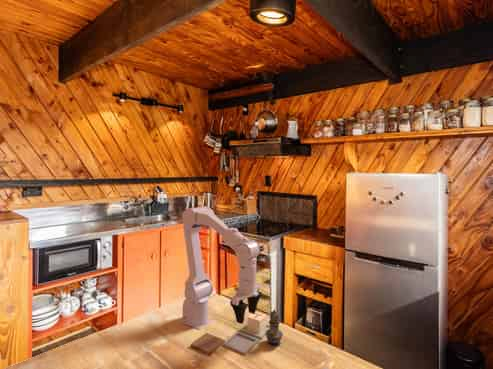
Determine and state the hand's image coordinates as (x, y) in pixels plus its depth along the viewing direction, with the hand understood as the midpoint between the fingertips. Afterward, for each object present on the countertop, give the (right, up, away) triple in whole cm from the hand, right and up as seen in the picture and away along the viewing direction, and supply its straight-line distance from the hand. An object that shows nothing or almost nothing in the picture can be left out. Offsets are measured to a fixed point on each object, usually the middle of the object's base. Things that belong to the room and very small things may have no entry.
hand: (246, 317), depth 98 cm
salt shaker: (+9, -10, +1) cm, 14 cm away
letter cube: (+4, -9, +10) cm, 14 cm away
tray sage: (+4, -9, +10) cm, 14 cm away
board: (-13, -9, 0) cm, 16 cm away
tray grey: (-2, -9, +1) cm, 10 cm away
